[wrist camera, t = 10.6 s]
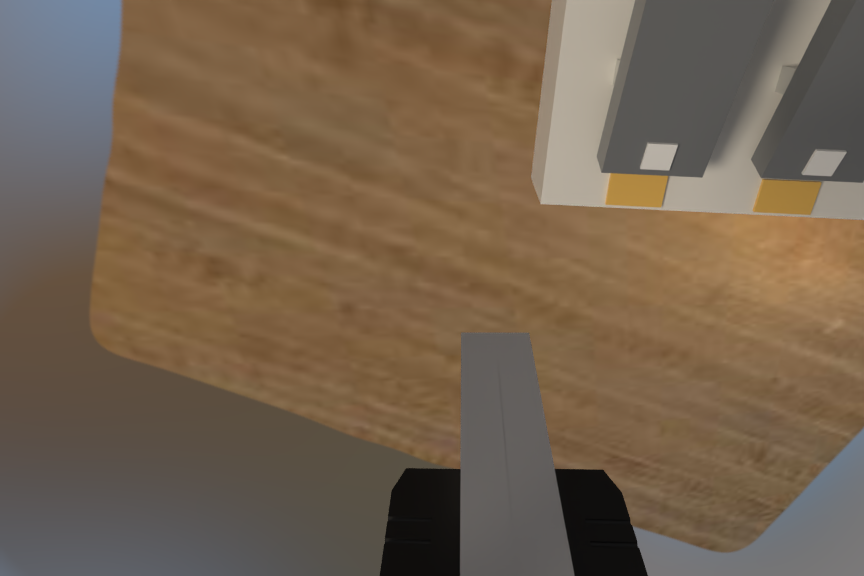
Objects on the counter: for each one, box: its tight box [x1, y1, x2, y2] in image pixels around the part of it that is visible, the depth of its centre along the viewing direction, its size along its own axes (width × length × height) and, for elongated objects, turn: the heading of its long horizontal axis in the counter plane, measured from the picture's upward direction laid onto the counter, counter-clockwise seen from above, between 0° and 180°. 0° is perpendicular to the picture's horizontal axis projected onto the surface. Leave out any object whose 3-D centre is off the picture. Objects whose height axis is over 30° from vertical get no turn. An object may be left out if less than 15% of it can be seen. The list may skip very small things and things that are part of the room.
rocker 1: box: [597, 0, 774, 178], centre depth 26 cm, size 9×5×2 cm, turn 178°
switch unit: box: [531, 0, 864, 220], centre depth 30 cm, size 14×26×6 cm, turn 88°
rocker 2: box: [751, 0, 864, 183], centre depth 26 cm, size 9×5×2 cm, turn 178°
